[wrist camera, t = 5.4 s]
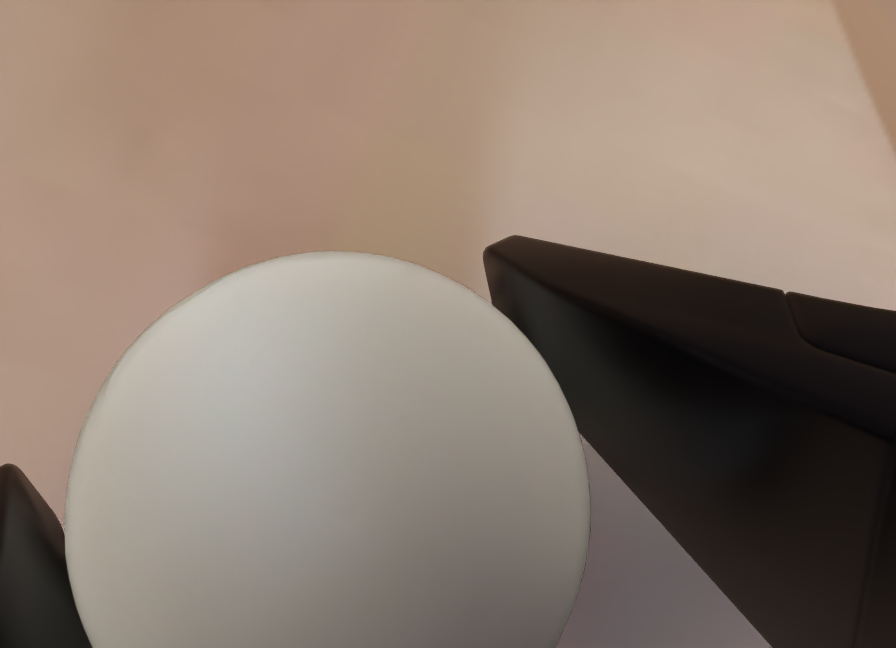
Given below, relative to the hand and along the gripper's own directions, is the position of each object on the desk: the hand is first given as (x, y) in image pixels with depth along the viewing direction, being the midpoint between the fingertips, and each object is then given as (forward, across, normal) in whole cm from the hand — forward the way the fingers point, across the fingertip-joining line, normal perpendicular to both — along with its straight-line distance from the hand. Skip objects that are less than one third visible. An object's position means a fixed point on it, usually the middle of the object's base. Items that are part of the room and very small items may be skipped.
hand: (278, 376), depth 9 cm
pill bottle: (+4, 0, +6) cm, 7 cm away
